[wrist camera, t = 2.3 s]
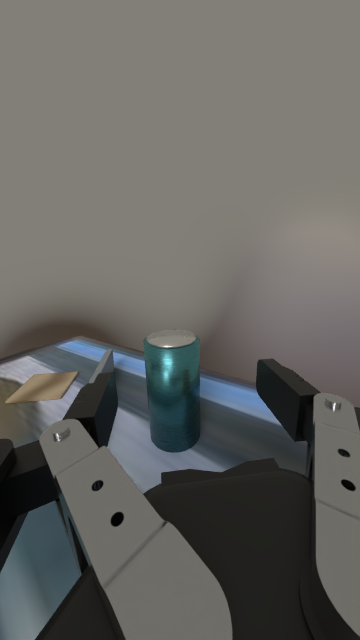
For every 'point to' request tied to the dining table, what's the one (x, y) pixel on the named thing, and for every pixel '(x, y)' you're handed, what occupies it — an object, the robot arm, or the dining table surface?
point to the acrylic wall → (104, 365)
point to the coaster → (43, 387)
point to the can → (173, 388)
